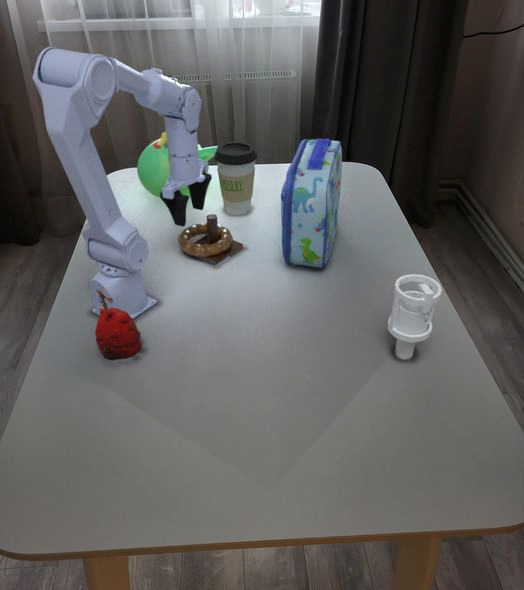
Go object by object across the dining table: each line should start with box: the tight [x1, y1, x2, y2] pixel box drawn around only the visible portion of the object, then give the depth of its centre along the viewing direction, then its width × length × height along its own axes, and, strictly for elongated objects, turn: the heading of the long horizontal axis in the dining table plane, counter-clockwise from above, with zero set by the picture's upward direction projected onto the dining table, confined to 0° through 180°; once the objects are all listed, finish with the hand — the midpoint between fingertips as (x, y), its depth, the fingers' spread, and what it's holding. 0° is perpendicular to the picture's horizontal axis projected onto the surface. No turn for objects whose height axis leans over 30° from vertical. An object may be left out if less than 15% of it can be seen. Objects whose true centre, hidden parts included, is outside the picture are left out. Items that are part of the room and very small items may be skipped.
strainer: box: [387, 273, 442, 360], centre depth 91 cm, size 7×7×15 cm
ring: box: [177, 222, 234, 257], centre depth 120 cm, size 12×12×2 cm
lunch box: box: [280, 138, 343, 269], centre depth 116 cm, size 26×11×21 cm, turn 168°
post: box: [184, 213, 244, 267], centre depth 118 cm, size 9×9×8 cm
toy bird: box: [136, 131, 219, 198], centre depth 136 cm, size 18×17×15 cm
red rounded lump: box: [94, 287, 142, 361], centre depth 91 cm, size 8×7×15 cm
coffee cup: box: [213, 140, 258, 216], centre depth 130 cm, size 10×10×15 cm
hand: (189, 216), depth 115 cm, fingers open, 7 cm apart
